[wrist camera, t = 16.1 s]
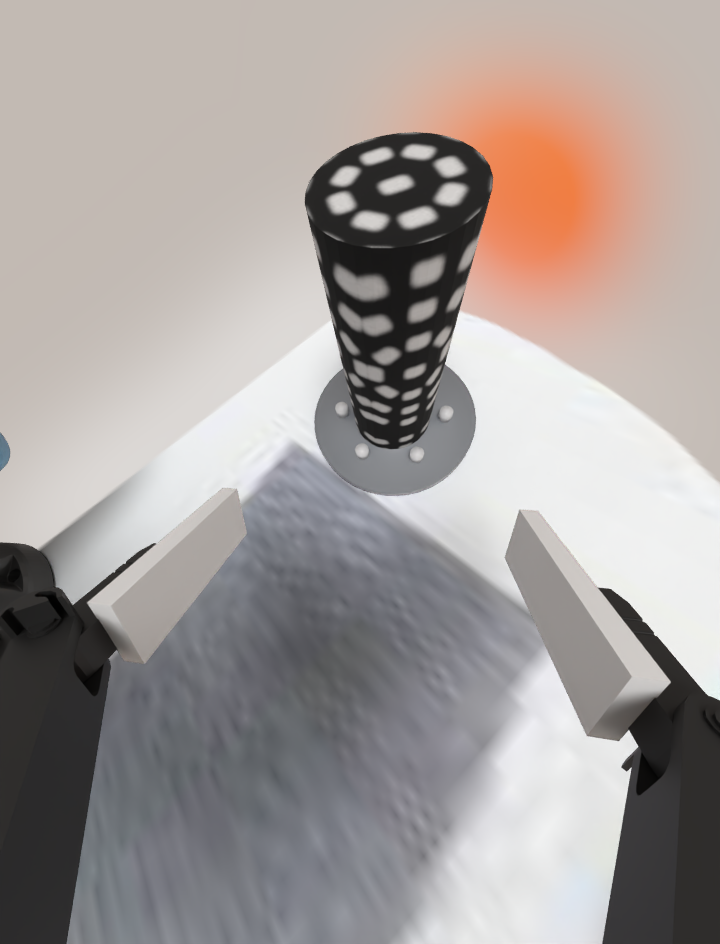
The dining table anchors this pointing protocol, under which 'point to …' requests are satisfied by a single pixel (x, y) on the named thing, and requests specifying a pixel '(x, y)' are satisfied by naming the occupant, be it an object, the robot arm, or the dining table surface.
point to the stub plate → (396, 466)
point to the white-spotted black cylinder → (397, 268)
